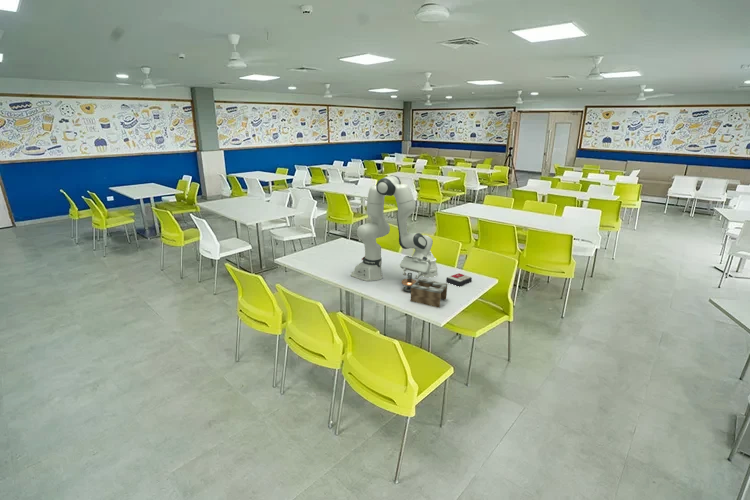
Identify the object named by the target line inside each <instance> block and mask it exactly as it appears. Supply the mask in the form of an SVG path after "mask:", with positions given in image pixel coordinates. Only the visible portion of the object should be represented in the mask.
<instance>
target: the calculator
mask: <svg viewBox="0 0 750 500" xmlns="http://www.w3.org/2000/svg"><path fill="white" fill-rule="evenodd" d="M472 280H473V277H472V276H469V275H465V274H463V273H455V274H453V275H450V276H448V277H446V279H445V282H446V284H449V283H450V284H449V285H452V284H453V286H455V285H456V287H458V286H459V288H460V286H461V287H463V286H464V285H467V284H469V283H472Z"/></svg>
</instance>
